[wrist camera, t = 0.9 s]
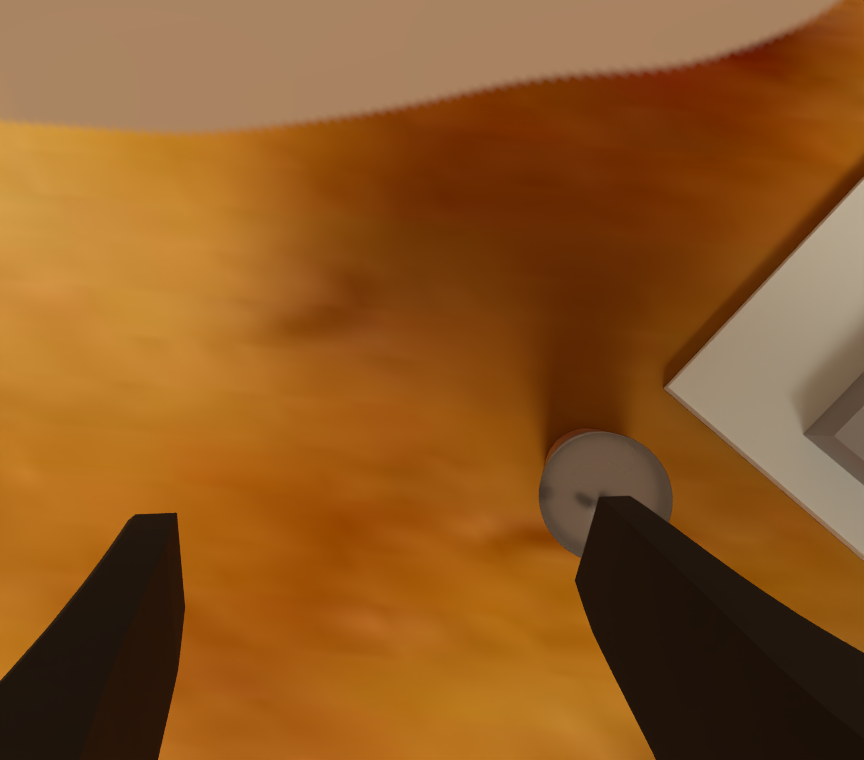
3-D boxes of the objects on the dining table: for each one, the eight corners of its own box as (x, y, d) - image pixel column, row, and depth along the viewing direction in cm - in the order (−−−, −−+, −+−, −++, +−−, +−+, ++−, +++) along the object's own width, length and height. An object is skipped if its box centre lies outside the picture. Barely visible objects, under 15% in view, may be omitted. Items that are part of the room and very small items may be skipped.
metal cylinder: (647, 467, 24) (701, 496, 15) (589, 527, 24) (609, 591, 15) (583, 411, 24) (599, 406, 15) (528, 470, 24) (512, 498, 16)
